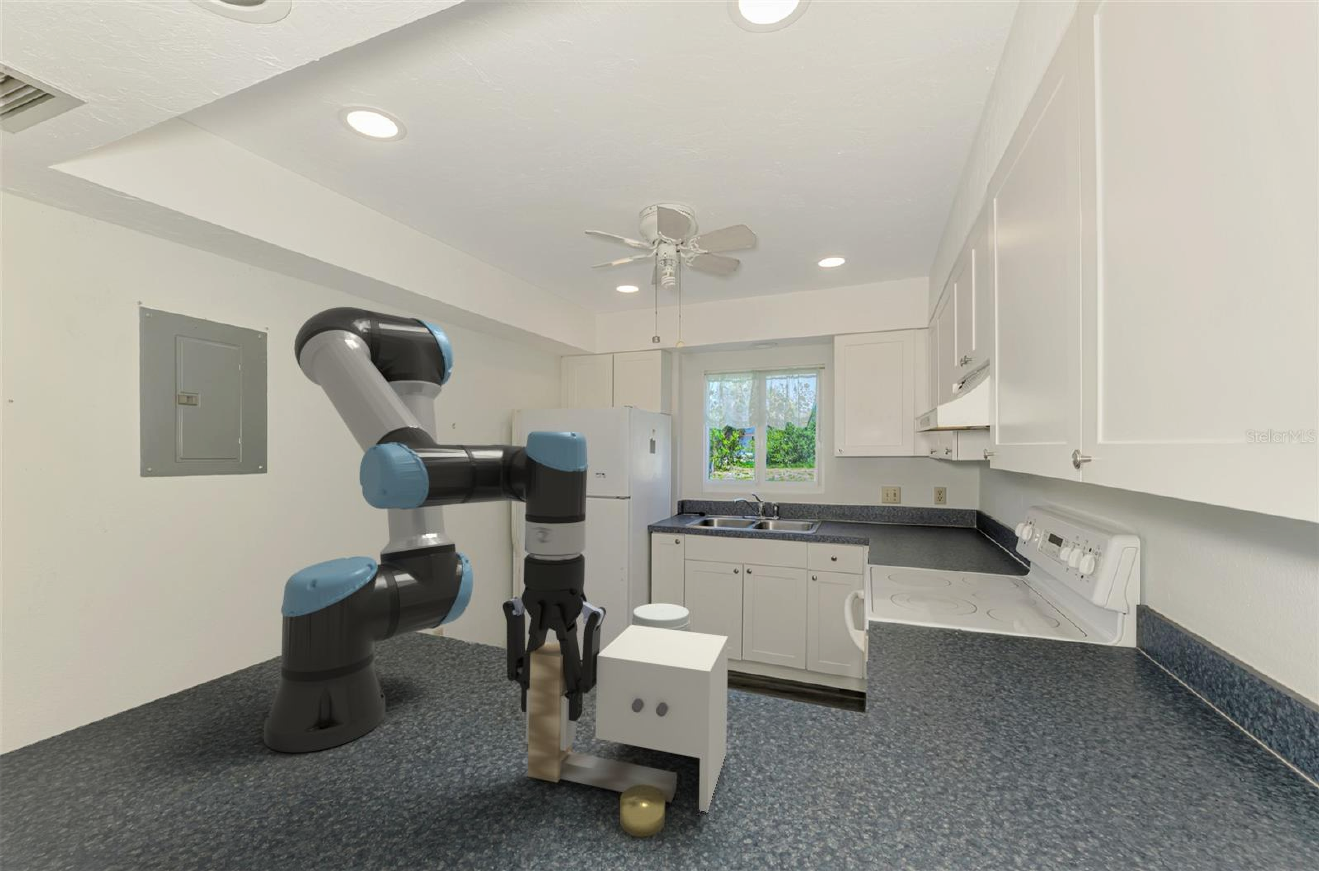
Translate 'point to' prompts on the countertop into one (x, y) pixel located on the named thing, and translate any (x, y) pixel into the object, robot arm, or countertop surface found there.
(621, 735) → the cabinet
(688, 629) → the supplement tub
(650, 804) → the cylinder
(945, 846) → the countertop surface
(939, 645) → the countertop surface
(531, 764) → the scraper tool
